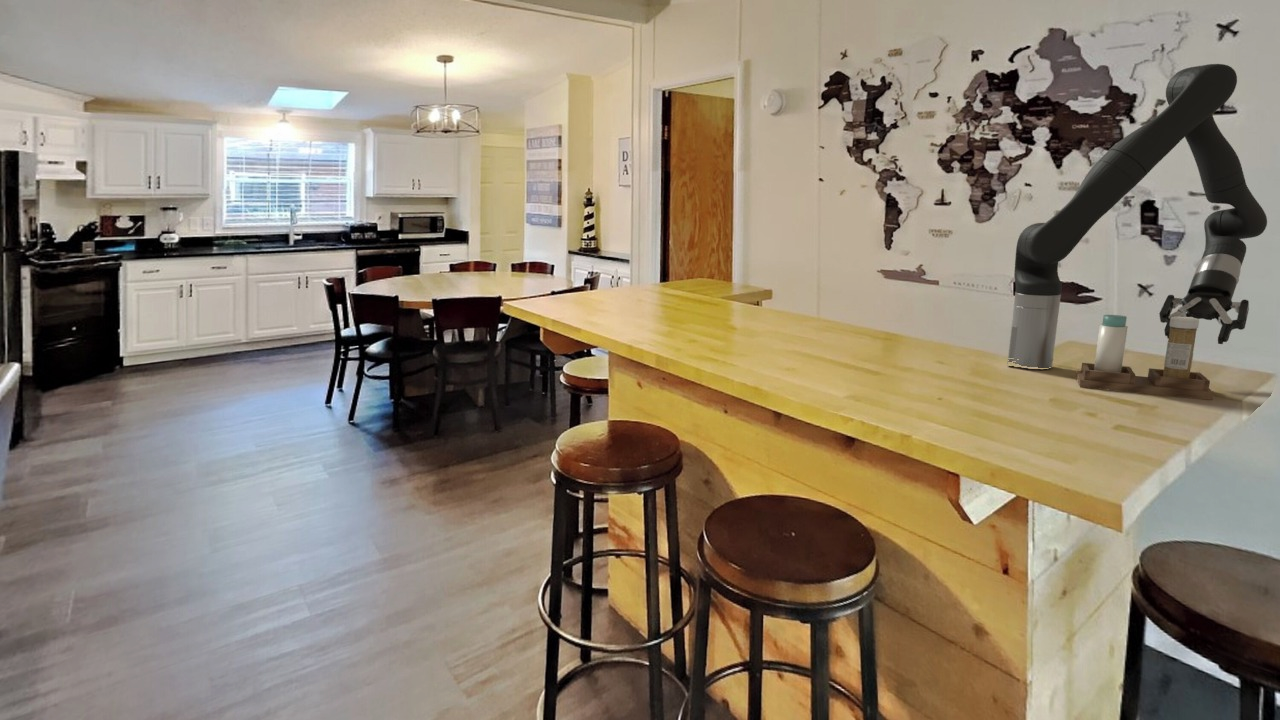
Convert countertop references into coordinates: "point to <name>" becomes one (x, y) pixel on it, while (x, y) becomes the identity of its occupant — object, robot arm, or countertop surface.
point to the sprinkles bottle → (1180, 347)
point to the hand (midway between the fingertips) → (1194, 339)
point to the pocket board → (1146, 382)
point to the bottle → (1111, 344)
